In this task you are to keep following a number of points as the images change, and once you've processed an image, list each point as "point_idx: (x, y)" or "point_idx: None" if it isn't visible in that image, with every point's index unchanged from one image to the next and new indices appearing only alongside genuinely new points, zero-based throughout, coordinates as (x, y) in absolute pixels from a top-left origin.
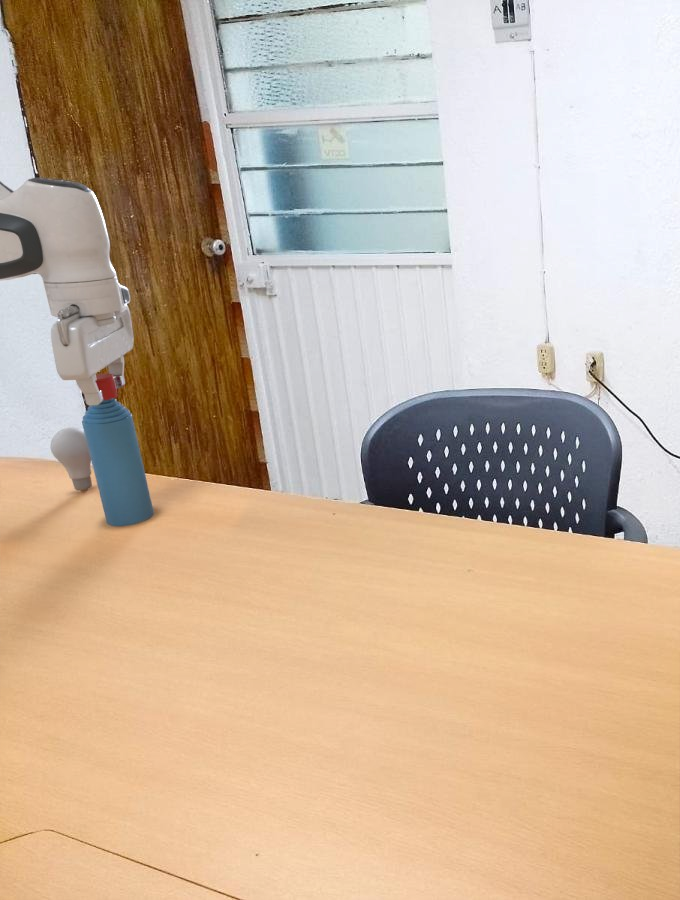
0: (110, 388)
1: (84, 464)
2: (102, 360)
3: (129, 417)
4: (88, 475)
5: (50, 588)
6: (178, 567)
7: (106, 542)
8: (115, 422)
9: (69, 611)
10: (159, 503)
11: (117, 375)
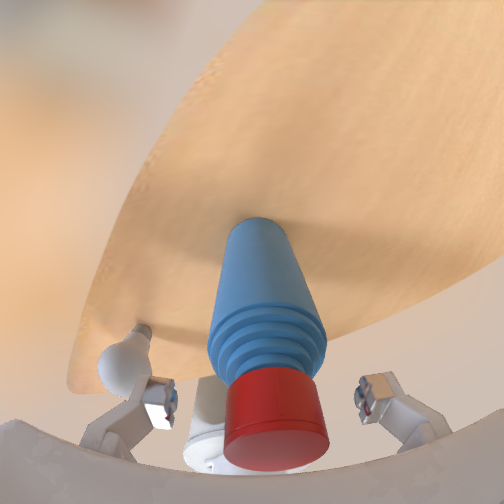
0: (304, 396)
1: (139, 344)
2: (419, 477)
3: (281, 301)
4: (140, 333)
5: (424, 273)
6: (431, 155)
7: (336, 254)
8: (319, 321)
9: (467, 240)
10: (208, 221)
11: (149, 412)
